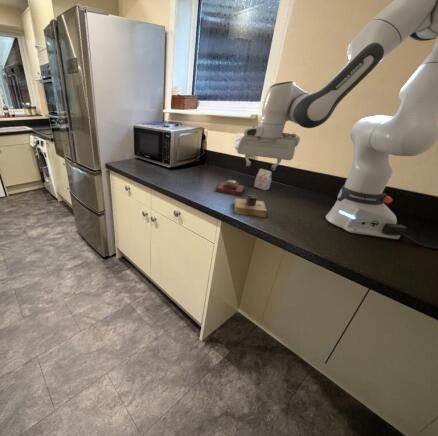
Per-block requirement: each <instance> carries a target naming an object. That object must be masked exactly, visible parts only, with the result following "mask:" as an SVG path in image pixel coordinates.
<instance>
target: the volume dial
mask: <svg viewBox="0 0 438 436" xmlns="http://www.w3.org/2000/svg"><path fill="white" fill-rule="evenodd" d="M256 201H258V196H257V195H255V194H247V196H246V204H247V205H249V206H255V205H256Z"/></svg>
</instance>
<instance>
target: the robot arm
mask: <svg viewBox="0 0 438 436" xmlns="http://www.w3.org/2000/svg"><path fill="white" fill-rule="evenodd" d="M409 37H410V38H411V39H413V40H415V41H418V42H426V41H427V42H428V41H432V40H435V43H434V46H433V48H432V49H431V51H430V52H429V53H430V54H428V56H427V57H426V58H425V59H424V60H423V61H422V63H421V64H420V65H419V66H418V67H417V69H416V70H415V71H414V72H413V74H412V75H411V77H409V79H408V80H407V81H406V83H404V85H403V86H402V88H401V89H400V91H399V92H398V99H399V100H400V105H399V107H398V109H397V111H396V113H395V114H394V115H382V114H380V115H379V114H378V115H371V116H366V117H363V118H361V119H359V120H358V121H357V122H356V123H354V125H353V126H352V128H351V130H350V134H349V135H350V140H351V142H352V144H353V159H352V164H351V168H350V171H349V173H348V175H347V178H346V180H345V183H344V184H343V185H342V186H341V188H340V190H339V192H338V194H337V196H336V197H337V200H336V201H335V203H334V205H333V206H332V208H331V209H330V210H329V212H327V213H326V214H325V219H326V221H327V222H329V223H331V224H332V225H335V226H336V227H339V228H341V229H343V230H344V231H346V232H348V233H351V234H358V235H364V236H365V235H366V236H372V237H379V238H385V239H393V240H399V239H400V238H401V236H402V237H403V238H405V239H407V240H408V241H410V242H411V243H413V244H415V245H417V246H420V247H423V248H428V249H433V250H438V246H434V245H430V244H426V243H422V242H418V241H417V240H415V239H413V238H412V237H410V236H409V235H407V234H405V233H406V232H407V230H408V227H406V226H405V225H404V224H398V219H397V216H396V214H395V213H394V212H393V211H392V210H391V209H390V208H389V206H388V205H386V204H391V203H392V202H393V198H392V197H391V196H389V195H387V194H386V193H385V192H384V190H385V189H386V187H387V185H388V183H389V181H390V180H391V177H392V175H393V168H392V166H391V164H390V158H389V157H390V155H391V156H395V157H396V156H397V157H416V156H419V155H422V154H423V153H424V154H425V152H427V151H429V150H430V149H431V148H432V147H433V146H434V145H435V144H436V143H437V141H438V121H437V120H438V0H393V1H392V2H390V3H389V4H388V5H387V6H386V7H385V8H383V9H382V10H381V11H380V12H378V13H377V15H375V16H374V17H373V18H372V19H371V20H370V21H369V22H368V23H367V24H366V25H365V26H364V27H362V28H361V30H359V32H357V34H356V35H355V37H354V38H353V39H352V40H351V42H350V43H349V44H348V48H347V58H348V61H347V63H346V65H345V66H344V67H342V69H341V70H340V71H338V73H337V74H336V75H335V76H333V78H331V80H330V81H329V82H327V84H326V85H325V86H324V87H322V88H320V89H319V90H316V91H315V92H313V93H310V92H308V91H305V90H303V89H302V88H300V87H299V86H298V85H297V84H296V83H295V82H294V81H283V82H277V83H274V84H272V85H271V86H269V88H268V90H267V91H266V94H265V97H264V99H263V104H262V108H261V117H260V119H259V121H258V124H257V125H255V126H251V127H247V128H245V129H244V131H243V134H244V135H243V136H242V137H240V139H239V141H238V145H237V147H236V153H237V154H238V155H244V159H245V163H246V164H245V166H246V167H251V164H252V161H250V159H249V158H250V156H252V157H260V158H267V159H274V160H275V159H276V163H275V164H272V165H271V168H270V171H276V169H277V166H279V165H280V164H281V162H282V160H283V161H291V160H293V159H294V156H295V152H296V151H295V150H296V147H298V145H299V144H300V140H301V138H300V136H299V135H297V133H289V132H284V130H285V127H286V123H287V122H292V123H294V124H297V125H298V126H300V127H302V128H305V129H314V128H317V127H319V126H322V125H323V124H325V122H327V121H328V119H329V118H330V117H331V116H332V115H333V113H334V111H335V109H336V108H337V106H338V105H339V104H340V102H341V101H342V100H344V98H345V97H346V96H347V95H348V94H350V92H351V91H352V90H353V89H354V88H356V87H357V85H359V84H360V83H361V82H362V81H363V80H364V79H365V78H366V77H367V76H368V75H369V74H370V73H371V72H372V71H373V70H374V69H375V68H376V66H377V65H379V64H380V63H381V62H382V61H383V60H384V59H385V58H386V57H387V56H389V54H391V53H392V52H393V51H395V49H397V48H398V47H399V46H400V45H401V44H402V43H403V42H404V41H406V39H408V38H409Z"/></svg>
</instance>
